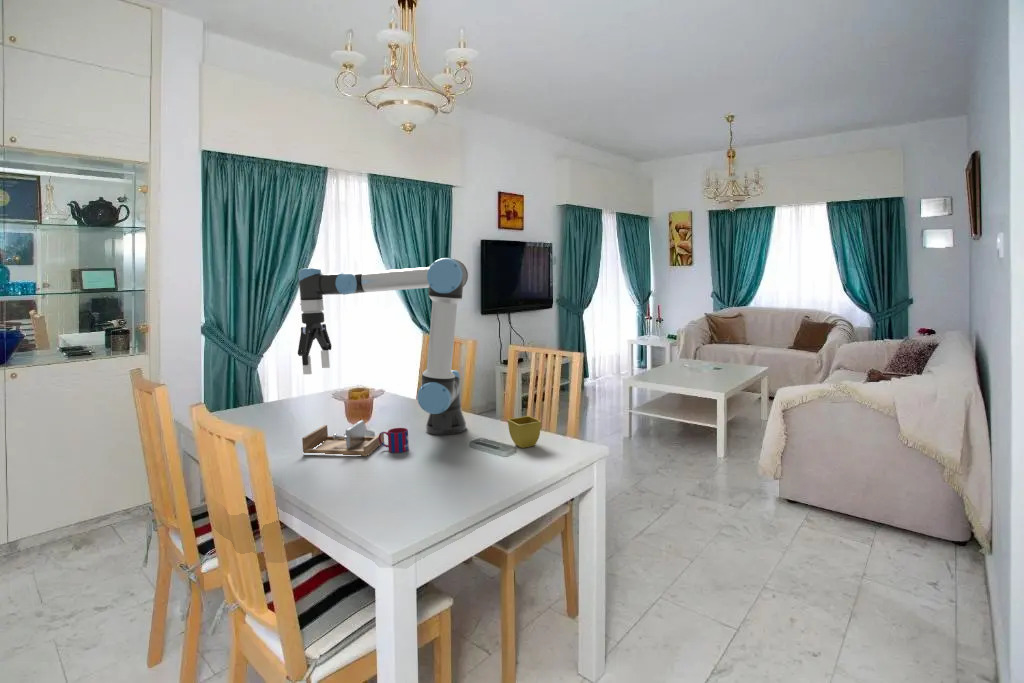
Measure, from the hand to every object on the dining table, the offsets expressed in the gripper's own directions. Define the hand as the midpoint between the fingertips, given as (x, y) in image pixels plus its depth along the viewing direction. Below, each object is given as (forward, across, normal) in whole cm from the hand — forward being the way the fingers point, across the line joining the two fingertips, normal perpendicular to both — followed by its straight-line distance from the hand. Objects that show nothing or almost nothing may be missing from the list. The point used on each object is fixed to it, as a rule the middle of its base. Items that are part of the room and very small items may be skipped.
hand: (317, 371), depth 195 cm
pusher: (+24, +10, +14) cm, 30 cm away
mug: (+26, +10, +31) cm, 41 cm away
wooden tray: (+26, +10, +13) cm, 30 cm away
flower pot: (+27, +2, +75) cm, 79 cm away
